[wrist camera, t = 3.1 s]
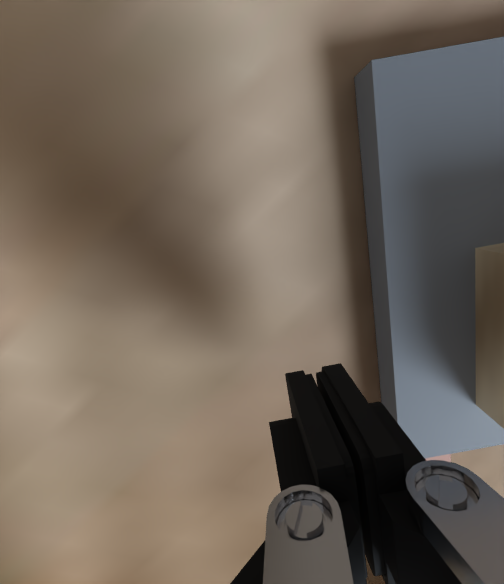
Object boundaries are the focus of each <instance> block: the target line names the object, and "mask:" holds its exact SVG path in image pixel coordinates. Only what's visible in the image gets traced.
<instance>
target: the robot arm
mask: <svg viewBox="0 0 504 584" xmlns="http://www.w3.org/2000/svg"><path fill="white" fill-rule="evenodd" d="M285 375H286V382H287V389H288V395H289V401H290V407H291V413H292V418H289V419H284V420H278V421H273V422H269V425H270V430H271V436H272V442H273V448H274V454H275V459H276V465H277V471H278V477H279V483H280V488H281V492H280V493H279V494H278V495H277V496H276V497H275V498H274V499H273V501H272V502H271V504H270V505H269V509H268V513H267V521H266V538H265V541H264V542H263V544H262V545H261V546H260V547H259V549H258V550H257V551H256V552H255V554H254V555H253V556H252V557H251V559H250V560H249V561H248V562H247V564H246V565H245V566H244V567H243V569H242V570H241V571H240V572H239V574H238V575H237V576H236V577H235V579H234V580H233V581H232V582H231V583H230V584H367V582H366V578H367V568H366V559H365V555H366V557H367V560H368V563H369V565H370V568H371V570H372V573H373V575H374V576H378V575H382V576H383V579H384V581H385V583H386V584H504V498H503V497H502V496H500V495H499V494H498V493H497V492H496V491H495V490H493V489H492V488H491V487H490V486H489V485H488V484H486V483H485V482H484V481H483V480H482V479H481V478H480V477H478V476H477V475H476V474H474V473H473V472H471V471H470V470H469V469H467V468H465V467H463V466H460V465H458V464H456V463H452V462H448V461H443V460H428V461H426V459H425V458H424V457H423V456H422V454H421V453H420V452H419V450H418V449H417V448H416V446H415V445H414V444H413V443H412V441H411V440H410V439H409V437H408V436H407V435H406V433H405V432H404V431H403V430H402V428H401V427H400V426H399V424H398V423H397V422H396V420H395V419H394V418H393V416H392V415H391V414H390V413H389V411H388V410H387V409H386V407H385V406H384V405H383V404H382V403H381V402H374V403H368V402H367V400H366V399H365V398H364V396H363V395H362V393H361V392H360V390H359V389H358V387H357V386H356V385H355V383H354V382H353V380H352V379H351V377H350V376H349V375H348V373H347V372H346V370H345V369H344V367H343V366H342V365H341V364H335V365H329V366H324V367H322V372H318V373H316V378H317V385H318V387H317V385H316V382H315V380H314V378H313V376H312V374H307V375H305V373H304V371H303V370H302V371H297V372H292V373H286V374H285Z"/></svg>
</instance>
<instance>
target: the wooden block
mask: <svg viewBox="0 0 504 584" xmlns="http://www.w3.org/2000/svg"><path fill="white" fill-rule="evenodd" d="M475 313H476V405H477V406H478V407H479V408H480V409H481V410H482V411H484V412H485V413H486V414H487V415H488V416H489V417H491V418H492V419H493V420H494V421H495V422H496V423H498V424H499V425H500V426H501V427H502V428H503V429H504V243H500V244H495V245H489V246H483V247H478V248H475Z"/></svg>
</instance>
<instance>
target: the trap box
mask: <svg viewBox="0 0 504 584" xmlns="http://www.w3.org/2000/svg"><path fill="white" fill-rule="evenodd" d="M354 80H355V92H356V104H357V116H358V128H359V140H360V152H361V164H362V175H363V187H364V199H365V211H366V223H367V235H368V247H369V259H370V271H371V283H372V294H373V306H374V318H375V330H376V342H377V354H378V366H379V378H380V390H381V402H382V404H383V405H384V406H385V407H386V409H387V410H388V411H389V413H390V414H391V415H392V416H393V418H394V419H395V420H396V422H397V423H398V424H399V426H400V427H401V428H402V430H403V431H404V432H405V433H406V435H407V436H408V437H409V439H410V440H411V441H412V443H413V444H414V445H415V446H416V448H417V449H418V450H419V452H420V453H421V454H422V456H423V457H424V458H425V459H426V461H428V460H443V461H448V462H451V454H452V453H457V452H463V451H468V450H474V449H479V448H485V447H490V446H496V445H501V444H504V429H503V428H502V427H501V426H500V425H499V424H498V423H496V422H495V421H494V420H493V419H492V418H491V417H489V416H488V415H487V414H486V413H485V412H484V411H482V410H481V409H480V408H479V407H478V406H477V405H476V313H475V248H478V247H483V246H489V245H495V244H500V243H504V37H499V38H493V39H488V40H482V41H477V42H471V43H465V44H460V45H454V46H448V47H443V48H437V49H431V50H426V51H420V52H415V53H409V54H403V55H398V56H392V57H386V58H381V59H375V60H371V61H370V62H369V63H368V64H367V65H366V66H365V67H364V68H363V69H362V70H361V71H360V72H359V73H358V74H357V75H356V76H355V77H354Z"/></svg>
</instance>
